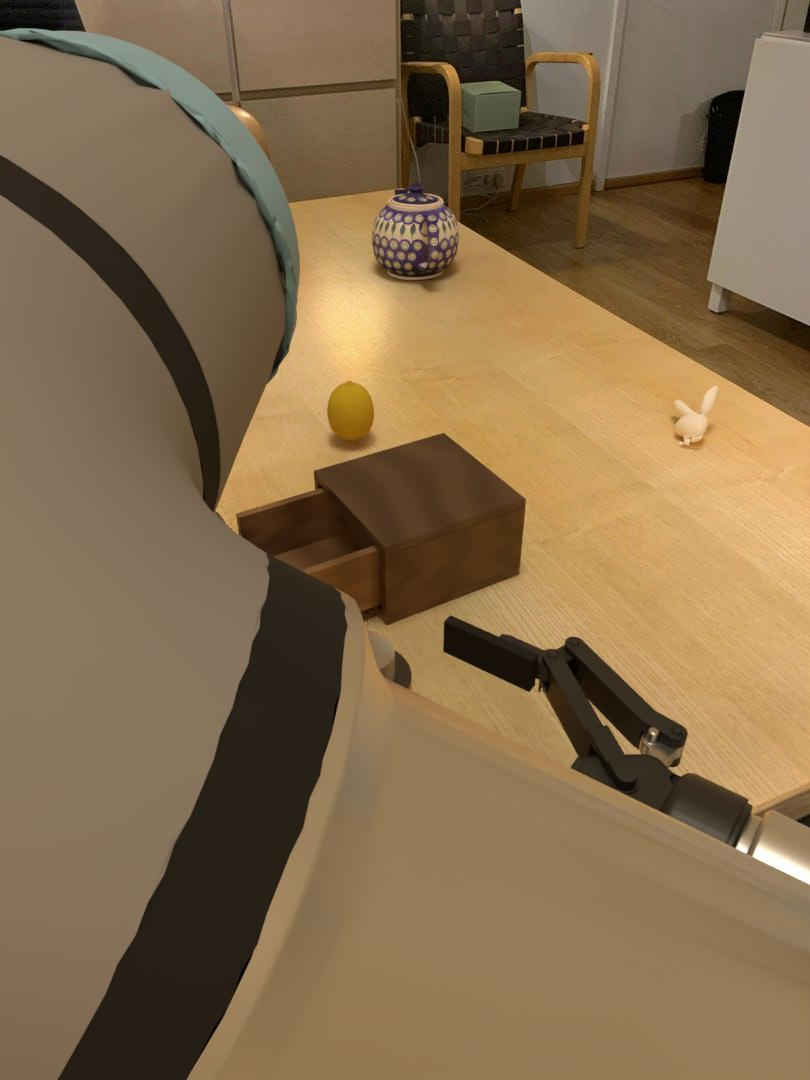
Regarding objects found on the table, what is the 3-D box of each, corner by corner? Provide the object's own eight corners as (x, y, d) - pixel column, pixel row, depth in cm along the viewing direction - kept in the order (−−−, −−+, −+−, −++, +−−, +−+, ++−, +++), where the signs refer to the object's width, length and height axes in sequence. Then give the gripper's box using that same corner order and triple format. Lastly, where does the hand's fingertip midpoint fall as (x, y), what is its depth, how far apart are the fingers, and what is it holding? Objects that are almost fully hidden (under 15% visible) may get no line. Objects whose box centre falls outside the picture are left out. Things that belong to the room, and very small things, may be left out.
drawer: (255, 661, 74) (246, 599, 70) (203, 578, 83) (192, 518, 79) (406, 604, 80) (405, 544, 76) (342, 532, 89) (338, 475, 85)
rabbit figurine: (658, 444, 105) (667, 391, 109) (675, 461, 108) (683, 409, 111) (704, 433, 101) (712, 378, 105) (720, 451, 103) (728, 397, 107)
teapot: (473, 293, 146) (477, 201, 137) (385, 299, 143) (383, 206, 135) (441, 246, 165) (442, 163, 157) (362, 250, 163) (360, 167, 154)
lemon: (320, 440, 106) (315, 380, 102) (355, 426, 109) (352, 367, 105) (348, 458, 103) (345, 397, 98) (384, 442, 106) (382, 382, 101)
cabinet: (386, 625, 79) (384, 547, 74) (319, 543, 89) (313, 470, 84) (519, 574, 85) (526, 498, 80) (442, 503, 95) (443, 432, 90)
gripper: (616, 1139, 38) (252, 883, 47) (784, 760, 54) (487, 628, 64) (644, 1060, 33) (235, 795, 43) (817, 673, 50) (493, 545, 59)
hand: (385, 695), depth 53 cm, fingers open, 13 cm apart
